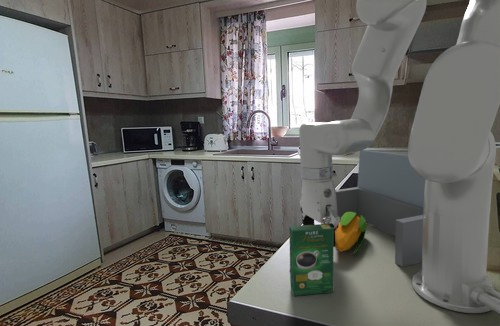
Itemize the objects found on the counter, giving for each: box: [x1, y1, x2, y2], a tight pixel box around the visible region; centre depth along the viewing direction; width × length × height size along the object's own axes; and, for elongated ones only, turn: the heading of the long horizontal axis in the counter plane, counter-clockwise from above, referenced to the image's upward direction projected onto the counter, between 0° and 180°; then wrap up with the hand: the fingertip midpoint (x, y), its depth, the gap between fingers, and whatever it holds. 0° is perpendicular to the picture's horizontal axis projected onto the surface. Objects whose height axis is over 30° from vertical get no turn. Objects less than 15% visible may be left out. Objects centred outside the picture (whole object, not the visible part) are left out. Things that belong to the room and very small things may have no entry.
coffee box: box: [289, 223, 334, 297], centre depth 56 cm, size 8×3×13 cm, turn 93°
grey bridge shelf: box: [324, 186, 423, 268], centre depth 79 cm, size 31×12×10 cm, turn 17°
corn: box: [334, 212, 368, 255], centre depth 75 cm, size 7×8×20 cm
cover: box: [356, 149, 426, 207], centre depth 80 cm, size 31×12×1 cm
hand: (318, 239), depth 74 cm, fingers open, 9 cm apart
